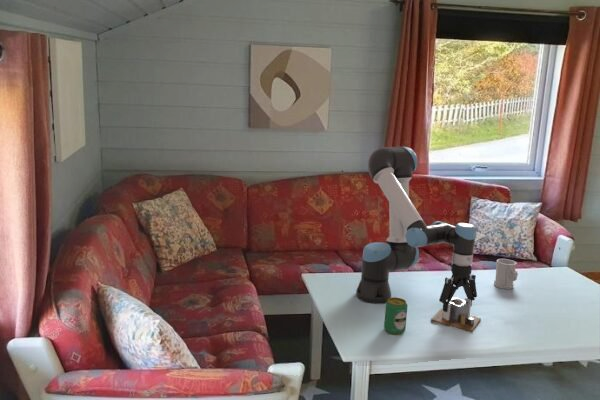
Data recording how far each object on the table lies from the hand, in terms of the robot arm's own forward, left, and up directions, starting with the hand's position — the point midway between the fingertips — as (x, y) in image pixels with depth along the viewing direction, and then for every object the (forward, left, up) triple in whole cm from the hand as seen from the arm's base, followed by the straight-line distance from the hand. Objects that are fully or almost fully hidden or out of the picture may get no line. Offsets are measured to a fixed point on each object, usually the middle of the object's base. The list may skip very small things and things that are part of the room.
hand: (456, 316), depth 217 cm
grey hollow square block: (+2, 0, -1) cm, 2 cm away
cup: (+8, +53, -2) cm, 54 cm away
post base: (0, 0, -2) cm, 2 cm away
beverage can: (-17, -23, -2) cm, 28 cm away
